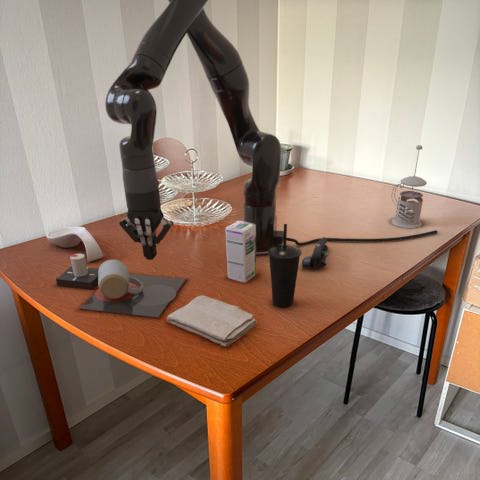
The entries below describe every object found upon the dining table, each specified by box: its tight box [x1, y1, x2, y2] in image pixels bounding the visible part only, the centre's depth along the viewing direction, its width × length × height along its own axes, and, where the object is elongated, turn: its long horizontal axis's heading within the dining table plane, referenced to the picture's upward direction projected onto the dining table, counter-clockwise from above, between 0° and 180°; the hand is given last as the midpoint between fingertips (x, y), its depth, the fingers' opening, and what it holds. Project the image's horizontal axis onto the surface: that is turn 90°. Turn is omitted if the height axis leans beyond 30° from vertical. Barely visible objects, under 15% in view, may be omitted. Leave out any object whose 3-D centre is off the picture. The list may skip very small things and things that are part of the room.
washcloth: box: [166, 295, 258, 348], centre depth 110 cm, size 12×18×3 cm, turn 54°
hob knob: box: [69, 253, 88, 277], centre depth 128 cm, size 4×4×5 cm
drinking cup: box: [267, 223, 302, 309], centre depth 114 cm, size 8×8×20 cm
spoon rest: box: [45, 225, 104, 263], centre depth 147 cm, size 24×12×7 cm, turn 43°
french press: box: [391, 144, 428, 229], centre depth 158 cm, size 10×12×25 cm
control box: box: [55, 265, 99, 290], centre depth 130 cm, size 10×8×2 cm
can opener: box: [301, 236, 329, 269], centre depth 139 cm, size 18×7×6 cm, turn 160°
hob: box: [79, 273, 187, 319], centre depth 124 cm, size 21×20×1 cm
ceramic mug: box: [97, 259, 143, 299], centre depth 122 cm, size 11×8×8 cm
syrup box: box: [224, 220, 257, 284], centre depth 128 cm, size 6×6×14 cm
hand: (150, 258), depth 118 cm, fingers closed
